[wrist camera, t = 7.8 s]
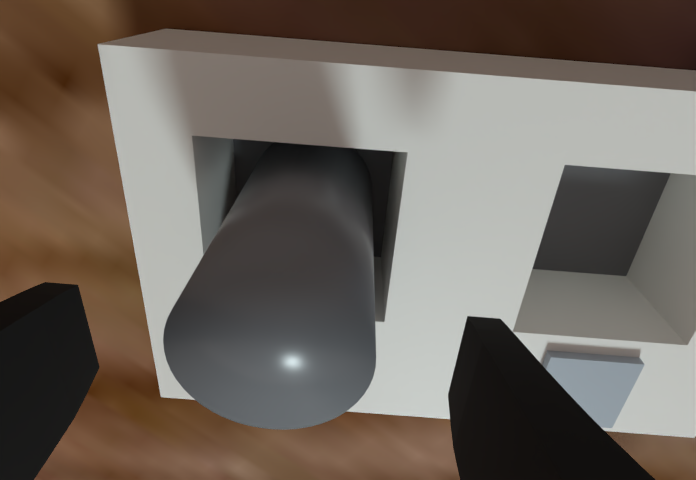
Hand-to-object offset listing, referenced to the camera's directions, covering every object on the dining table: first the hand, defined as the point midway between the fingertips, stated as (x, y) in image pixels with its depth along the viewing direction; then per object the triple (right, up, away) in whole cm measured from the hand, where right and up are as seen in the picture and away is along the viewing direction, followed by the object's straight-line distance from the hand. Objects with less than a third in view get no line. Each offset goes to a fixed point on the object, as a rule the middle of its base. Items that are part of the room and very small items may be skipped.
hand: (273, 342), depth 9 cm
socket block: (+5, +3, +8) cm, 9 cm away
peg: (0, +4, +7) cm, 8 cm away
